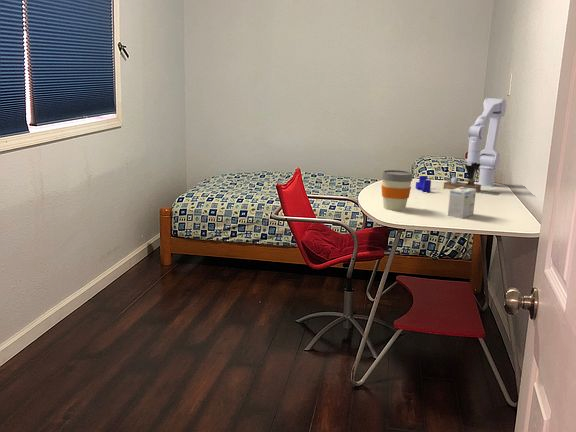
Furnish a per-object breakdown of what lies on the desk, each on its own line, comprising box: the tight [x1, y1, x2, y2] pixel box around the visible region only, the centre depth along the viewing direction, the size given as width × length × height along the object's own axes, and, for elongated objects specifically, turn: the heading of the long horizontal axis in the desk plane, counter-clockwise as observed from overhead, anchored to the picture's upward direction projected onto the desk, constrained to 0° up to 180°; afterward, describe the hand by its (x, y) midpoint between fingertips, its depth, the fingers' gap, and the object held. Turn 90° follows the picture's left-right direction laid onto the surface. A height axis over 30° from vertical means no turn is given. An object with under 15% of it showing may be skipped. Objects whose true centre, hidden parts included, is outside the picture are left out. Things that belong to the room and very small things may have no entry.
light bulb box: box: [447, 187, 477, 219], centre depth 261 cm, size 11×7×11 cm, turn 141°
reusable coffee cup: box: [381, 169, 413, 212], centre depth 268 cm, size 13×13×15 cm
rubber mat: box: [480, 190, 502, 196], centre depth 312 cm, size 8×8×1 cm
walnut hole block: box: [443, 180, 482, 193], centre depth 319 cm, size 8×16×3 cm, turn 59°
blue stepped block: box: [415, 175, 432, 194], centre depth 313 cm, size 12×4×6 cm, turn 0°
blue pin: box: [450, 176, 459, 184], centre depth 320 cm, size 3×3×6 cm
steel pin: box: [467, 170, 477, 185], centre depth 315 cm, size 3×3×8 cm
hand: (471, 178), depth 316 cm, fingers closed on steel pin, 3 cm apart
